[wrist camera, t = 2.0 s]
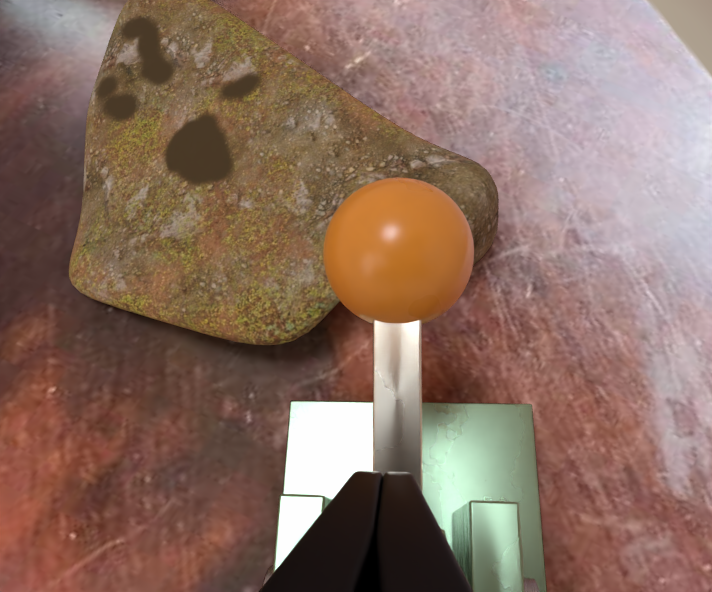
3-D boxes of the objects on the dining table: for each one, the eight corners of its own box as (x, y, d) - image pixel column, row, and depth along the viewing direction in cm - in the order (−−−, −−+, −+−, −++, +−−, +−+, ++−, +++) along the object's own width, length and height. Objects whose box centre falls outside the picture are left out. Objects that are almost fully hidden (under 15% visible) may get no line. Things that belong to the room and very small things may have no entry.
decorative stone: (518, 235, 24) (512, 170, 20) (262, 496, 23) (195, 490, 19) (210, 11, 35) (162, -62, 31) (32, 182, 35) (-43, 132, 30)
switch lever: (336, 204, 16) (310, 156, 12) (467, 201, 15) (479, 151, 12) (330, 631, 14) (300, 717, 11) (474, 640, 14) (491, 732, 10)
